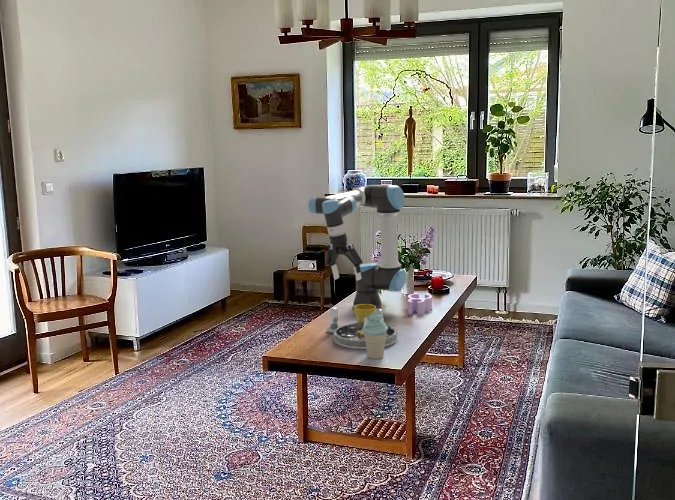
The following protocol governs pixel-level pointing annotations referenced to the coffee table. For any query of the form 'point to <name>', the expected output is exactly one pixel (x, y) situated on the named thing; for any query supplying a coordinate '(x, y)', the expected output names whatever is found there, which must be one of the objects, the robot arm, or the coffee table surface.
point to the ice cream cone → (375, 335)
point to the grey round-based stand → (333, 320)
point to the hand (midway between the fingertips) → (347, 279)
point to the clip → (419, 303)
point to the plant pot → (363, 311)
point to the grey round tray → (360, 335)
